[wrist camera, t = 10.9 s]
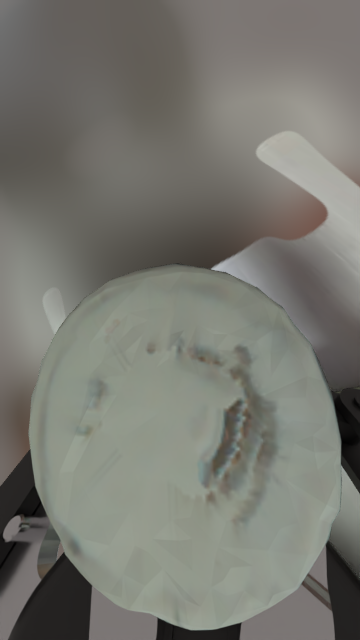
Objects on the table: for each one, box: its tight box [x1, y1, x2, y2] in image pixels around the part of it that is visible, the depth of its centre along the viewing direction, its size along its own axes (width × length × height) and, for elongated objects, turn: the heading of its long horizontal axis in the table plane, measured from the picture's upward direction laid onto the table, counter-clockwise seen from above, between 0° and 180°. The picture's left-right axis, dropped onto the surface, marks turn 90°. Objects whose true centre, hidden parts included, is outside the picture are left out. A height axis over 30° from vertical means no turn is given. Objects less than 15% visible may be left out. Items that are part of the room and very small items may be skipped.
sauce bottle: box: [29, 263, 342, 630], centre depth 11 cm, size 7×6×20 cm
